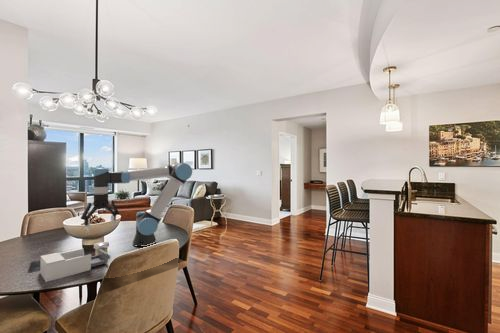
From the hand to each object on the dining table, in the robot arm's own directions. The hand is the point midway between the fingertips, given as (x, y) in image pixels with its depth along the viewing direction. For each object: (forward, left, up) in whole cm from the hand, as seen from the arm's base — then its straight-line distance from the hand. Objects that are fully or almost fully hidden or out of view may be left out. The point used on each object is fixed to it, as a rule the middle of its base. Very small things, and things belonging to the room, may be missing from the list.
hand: (100, 228), depth 141 cm
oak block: (-1, -1, -17) cm, 17 cm away
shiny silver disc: (-1, -1, -12) cm, 12 cm away
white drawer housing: (+19, +11, -17) cm, 27 cm away
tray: (+10, +11, -16) cm, 22 cm away
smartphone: (+27, -7, -17) cm, 33 cm away
